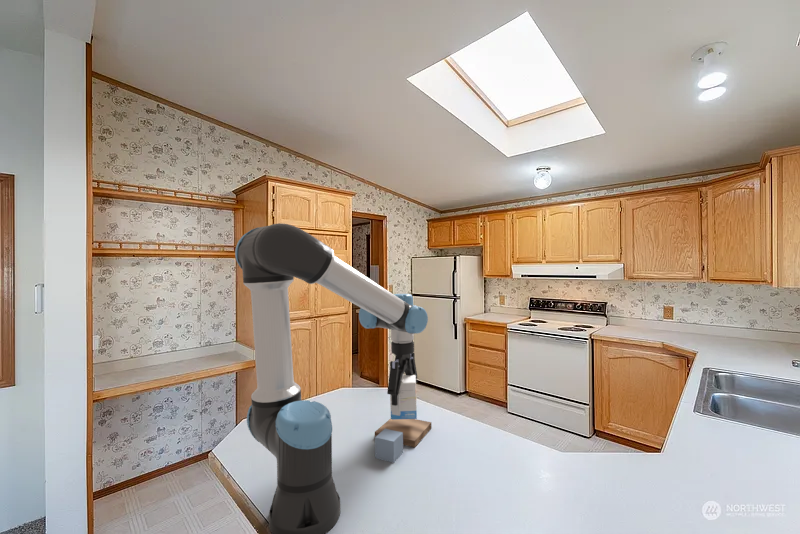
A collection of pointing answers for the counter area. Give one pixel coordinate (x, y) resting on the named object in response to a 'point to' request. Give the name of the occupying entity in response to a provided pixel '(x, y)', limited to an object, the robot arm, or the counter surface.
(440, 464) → the counter surface
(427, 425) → the board
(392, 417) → the ink box
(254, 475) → the counter surface
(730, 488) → the counter surface
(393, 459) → the cube
